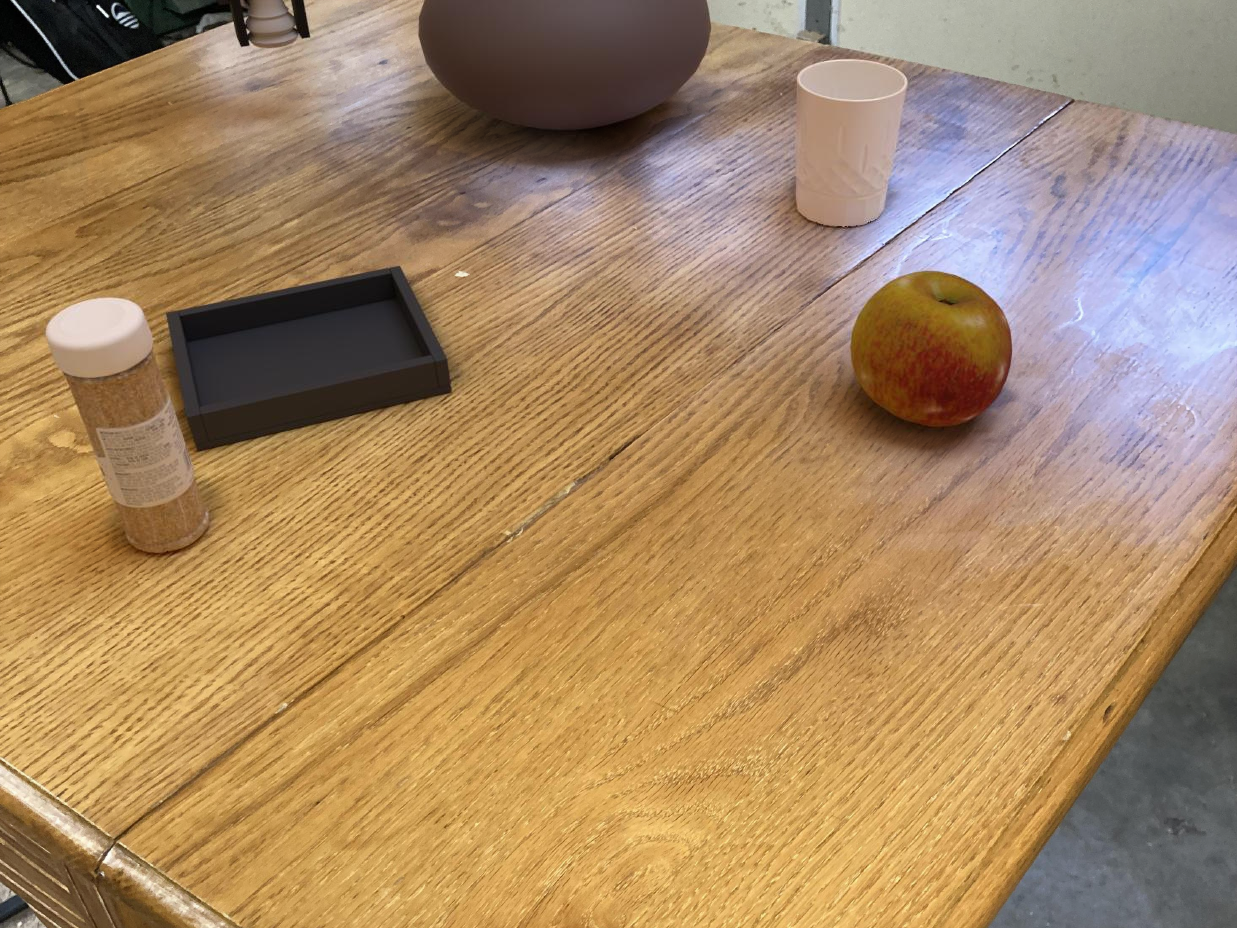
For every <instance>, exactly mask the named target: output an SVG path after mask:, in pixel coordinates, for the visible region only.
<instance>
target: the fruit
mask: <svg viewBox="0 0 1237 928" xmlns="http://www.w3.org/2000/svg"><path fill="white" fill-rule="evenodd" d="M854 322H855V323H854V325H853V328H852V330H851V336H850V337H851V338H850V344H849V345H850V346H849V347H850V359H851V360H850V361H851V365H852V369H853V372H854V374H855V376H856V379H857V382H858V384H859V385H860V386H861V388H862V389H863V391H864V393H865V394H866V395H867V396H868V397H869V398H870V399H871V400H872V401H873V402H874V403H875V404H877V405H878V406H880V408H882V409H884V410H885V411H887V412H889V413H890V414H892V415H893V416H894V417H897V418H899V419H901V420H903V421H907V422H911V423H915V424H917V425H922V426H927V427H937V428H939V427H940V428H943V427H944V428H945V427H950V426H952V427H953V426H957V425H960V424H964V423H967V422H968V421H971V420H972V419H975V418H976V417H977V416H980V415H981V414H982V413H984V412H985V411H987V409H988V408H989V407H990V406H991V405H992V404H994V402H995V401H996V400H997V398H998V397H999V396H1000V394H1001V392H1002V391H1003V388H1004V386H1005V384H1006V382H1007V381H1008V377H1009V373H1010V369H1011V366H1012V358H1013V339H1012V331H1011V327H1010V324H1009V322H1008V319H1007V316H1006V315H1005V313H1004V310H1003V309H1002V308H1001V307H1000V305H999V304H998V303H997V301H996V300H994V298H993V297H991V296H990V295H989V294H988V293H987V292H986V291H985V290H983V289H982V288H981V287H980V286H978V285H977V284H975V283H973V282H971V281H969V280H967V279H965V278H964V277H962V276H959V275H956V274H952V273H949V272H944V271H940V270H920V271H914V272H910V273H907V274H904V275H900V276H898V277H896V278H894V279H892V280H890V281H889V282H887V283H886V284H884V285H883V286H882V287H881V288H879V289H878V290H877V291H876V292H875V293H874V294H872V296H870V298H869V299H868V300H867V301H866V303H865V304H864V306H863V307H862V309H861V310H860V311H859V313H858V315H857V317H856V320H855V321H854Z"/></svg>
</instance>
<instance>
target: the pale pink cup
mask: <svg viewBox="0 0 1237 928" xmlns="http://www.w3.org/2000/svg"><path fill="white" fill-rule="evenodd" d="M908 83H909V81H908V79H907V77H906V75H905V74H904V73H903V72H901V71H900V70H899V69H897V68H895V67H893V66H890V65H888V64H885V63H881V62H877V61H873V60H866V59H856V58H855V59H853V58H842V59H841V58H839V59H831V60H825V61H820V62H816V63H812V64H810V65H808V66H806V67H804V68H803V69H802V70H800V71H799V72H798V74H797V77H796V96H795V97H796V99H795V100H796V101H795V134H794V160H795V161H794V163H795V165H794V172H795V176H796V179H795V180H796V181H795V182H796V183H795V187H796V188H795V205H796V208H797V209H796V210H797V212H798V213H799V214H800V215H801V216H803V217H804V218H805V219H806V220H808V221H810V222H813V223H816V222H817V223H816V224H820V225H822V224H823V225H822V226H827V225H828V226H829V227H837V226H842V227H841V228H849V227H848V226H851V227H857V226H858V227H859V226H864V225H866V224H869V223H871V222H873V221H875V219H876V220H877V219H879V217H880V216H881V214H882V213H883V212H884V209H885V205H886V199H887V194H888V187H889V181H890V179H891V175H892V172H893V167H894V158H895V154H896V151H897V145H898V141H899V135H900V128H901V124H902V118H903V117H902V116H903V111H904V107H905V100H906V96H907V95H906V94H907V89H908ZM870 221H871V222H870ZM868 222H869V223H868ZM856 225H857V226H856ZM828 226H827V227H828ZM845 226H847V227H845Z"/></svg>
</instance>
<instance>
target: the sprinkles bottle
mask: <svg viewBox="0 0 1237 928" xmlns="http://www.w3.org/2000/svg"><path fill="white" fill-rule="evenodd" d="M45 339H46V342H47V345H48V347H49V350H50V353H51V355H52V358H53V360H54V363H55V365H56V367H57V368H58V369H59V370H60V371H61V373H62V374H63V376H64V377H65V379H66V382H67V384H68V387H69V389H70V392H71V395H72V397H73V399H74V403H75V405H76V407H77V410H78V413H79V415H80V419H81V420H82V424H84V429H85V432H86V434H87V437H88V440H89V442H90V445H91V446H92V451H93V456H94V457H95V460H96V462H97V464H98V467H99V470H100V472H101V475H102V477H103V481H104V482H105V485H106V488H107V490H108V492H109V495H110V497H111V498H112V499H113V501H114V503H115V506H116V509H117V511H118V514H119V517H120V518H121V522H122V524H123V527H124V528H123V529H124V535H125V537H126V539H127V542H128V543H129V544H130V545H131V546H133V547H134V548H135V549H137V550H139V551H141V550H143V551H142V552H145V551H146V552H145V553H153V552H154V553H155V554H161V553H168V552H173V550H174V551H178V550H180V549H184V548H185V547H187V546H189V545H192V544H193V543H194V542H196V541H197V540H198V539H199V538H200V537H201V536H203V535H204V534H205V532H206V530H207V529H208V527H209V526H210V519H211V516H210V510H209V508H208V506H207V505H206V504H205V502H204V500H203V498H202V494H201V492H200V488H199V485H198V483H197V480H196V477H195V468H194V465H193V462H192V459H191V456H190V453H189V450H188V446H187V444H186V441H185V438H184V436H183V435H184V434H183V432H182V429H181V426H180V423H179V420H178V417H177V415H176V414H177V413H176V411H175V408H174V406H173V405H174V404H173V403H172V400H171V397H170V393H169V391H168V390H167V388H166V386H165V383H164V380H163V379H164V378H163V376H162V374H161V371H160V368H159V365H158V362H157V358H156V356H155V353H154V337H153V335H152V331H151V328H150V326H149V323H148V320H147V318H146V315H145V312H144V311H143V309H142V308H141V307H140V306H139V305H138V304H137V303H135V302H133V301H131V300H129V299H125V298H121V297H98V298H91V299H88V300H87V299H86V300H82V301H80V302H78V303H74V304H72V305H70V306H68V307H66V308H64V309H62V310H61V311H59V312H57V313H56V314H55V315H54V316H53V317H52V318H51V319H50V320H49V322H48V323H47V325H46V327H45ZM167 551H168V552H167Z"/></svg>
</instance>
